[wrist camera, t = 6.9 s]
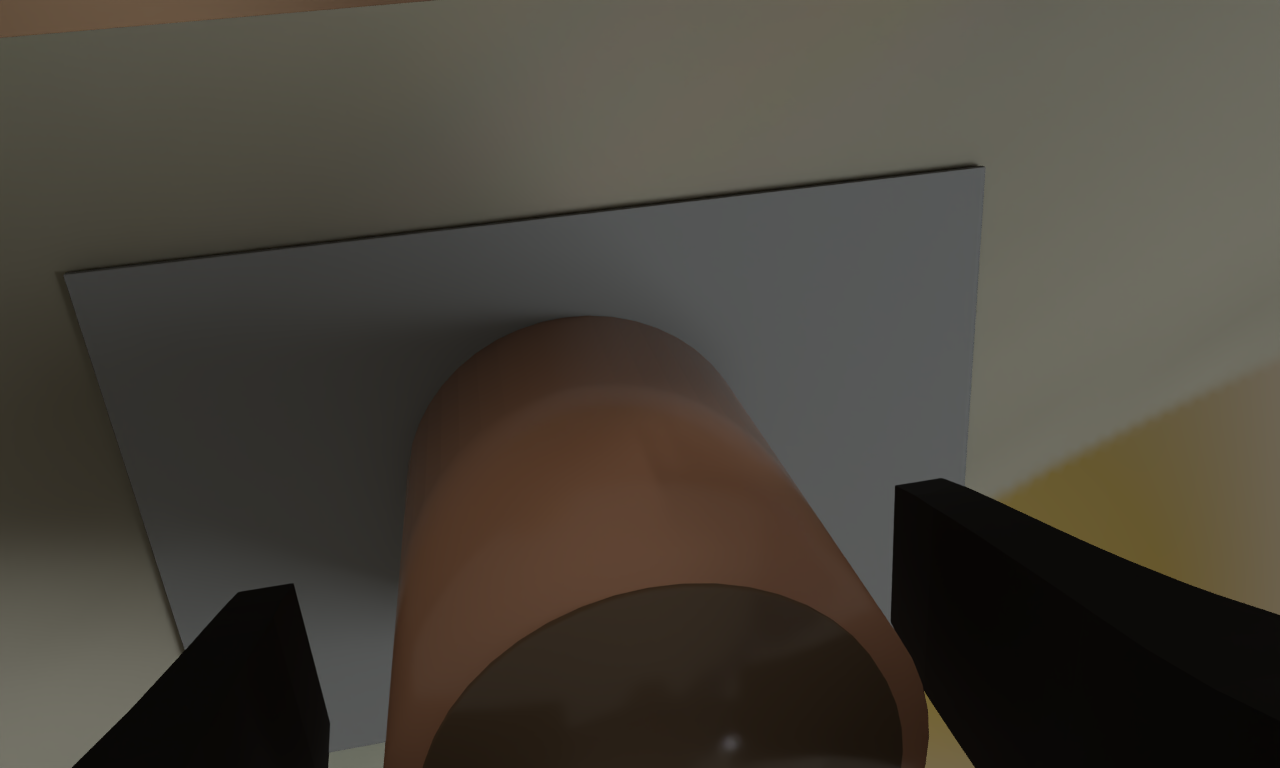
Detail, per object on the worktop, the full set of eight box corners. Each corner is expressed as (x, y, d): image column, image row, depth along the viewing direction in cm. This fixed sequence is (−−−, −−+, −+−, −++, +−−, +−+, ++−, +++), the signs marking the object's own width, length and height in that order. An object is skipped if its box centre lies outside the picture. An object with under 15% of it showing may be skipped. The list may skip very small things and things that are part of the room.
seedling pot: (743, 293, 14) (944, 512, 8) (755, 592, 16) (923, 932, 10) (377, 343, 13) (324, 617, 7) (438, 647, 15) (432, 1045, 9)
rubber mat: (981, 165, 14) (985, 167, 14) (951, 633, 17) (954, 637, 17) (66, 272, 12) (63, 274, 12) (224, 766, 15) (224, 771, 15)
